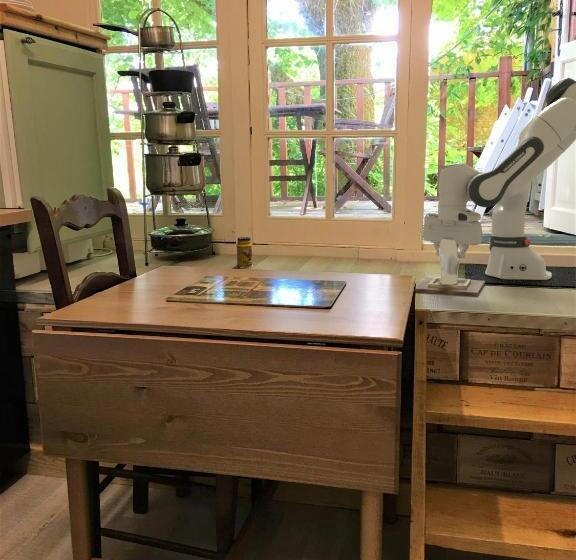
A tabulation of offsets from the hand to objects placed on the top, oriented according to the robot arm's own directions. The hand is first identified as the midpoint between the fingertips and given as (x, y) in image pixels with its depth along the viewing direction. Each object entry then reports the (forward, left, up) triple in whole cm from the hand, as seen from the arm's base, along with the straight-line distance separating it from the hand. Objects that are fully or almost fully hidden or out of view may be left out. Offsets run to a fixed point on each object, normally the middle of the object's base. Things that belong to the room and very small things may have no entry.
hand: (450, 256), depth 202 cm
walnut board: (0, 0, -10) cm, 11 cm away
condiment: (+85, -16, -11) cm, 87 cm away
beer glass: (0, +1, -9) cm, 9 cm away
